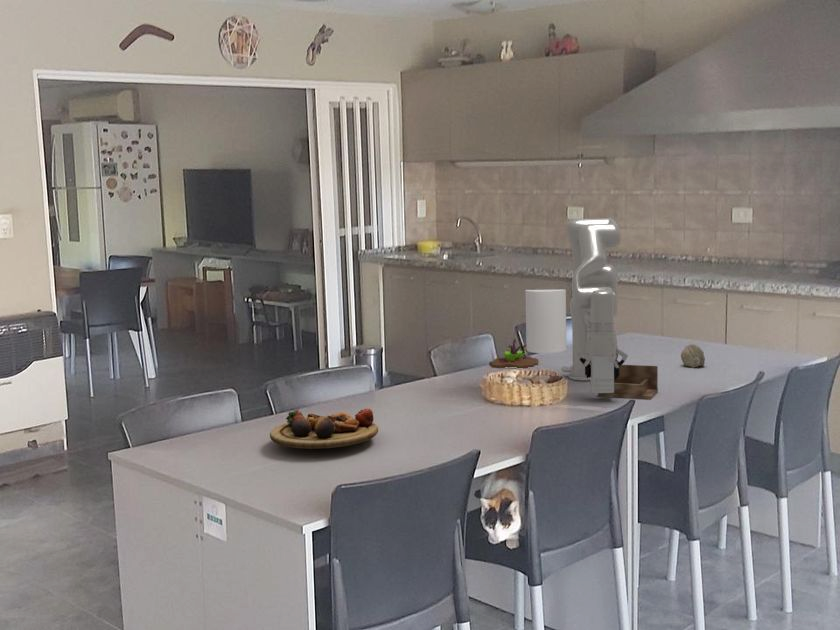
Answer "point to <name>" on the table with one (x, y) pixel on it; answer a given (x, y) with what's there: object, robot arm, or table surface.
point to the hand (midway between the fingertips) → (602, 378)
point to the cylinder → (545, 321)
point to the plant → (514, 359)
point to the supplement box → (602, 375)
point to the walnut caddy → (635, 382)
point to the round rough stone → (692, 356)
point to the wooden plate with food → (324, 430)
